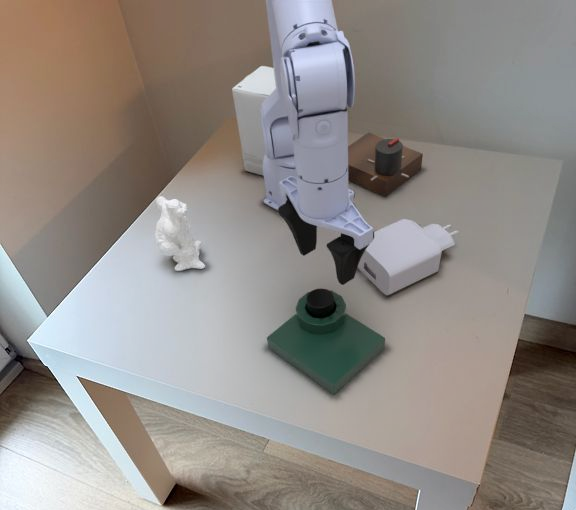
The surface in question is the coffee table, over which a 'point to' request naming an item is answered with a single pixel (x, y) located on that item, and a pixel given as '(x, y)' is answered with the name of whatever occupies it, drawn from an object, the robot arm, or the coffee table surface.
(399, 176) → the panel
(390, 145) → the lock knob
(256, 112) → the white product box
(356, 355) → the base
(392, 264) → the charger
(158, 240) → the koala figurine
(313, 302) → the black push button
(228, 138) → the coffee table surface
